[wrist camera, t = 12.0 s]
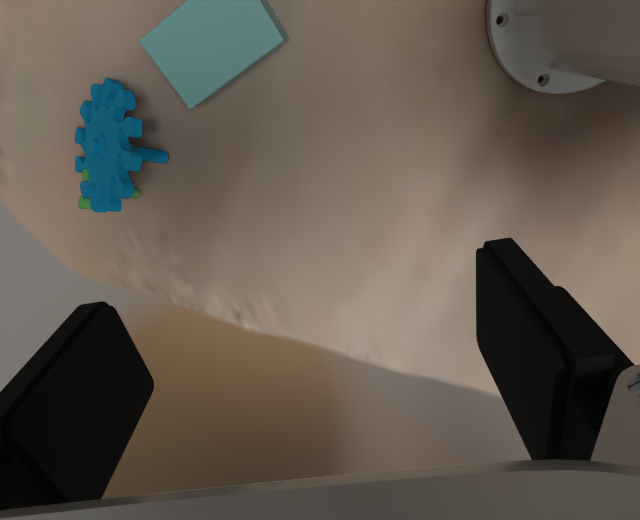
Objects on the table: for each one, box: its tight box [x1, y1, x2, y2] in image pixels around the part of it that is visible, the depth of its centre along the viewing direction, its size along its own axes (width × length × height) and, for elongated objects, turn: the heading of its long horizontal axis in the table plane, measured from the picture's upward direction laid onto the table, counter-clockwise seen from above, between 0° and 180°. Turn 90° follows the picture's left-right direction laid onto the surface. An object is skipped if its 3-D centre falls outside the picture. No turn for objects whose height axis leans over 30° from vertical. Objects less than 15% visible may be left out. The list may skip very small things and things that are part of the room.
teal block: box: [139, 0, 289, 109], centre depth 29 cm, size 8×5×5 cm, turn 122°
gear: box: [75, 77, 168, 212], centre depth 33 cm, size 11×6×10 cm
